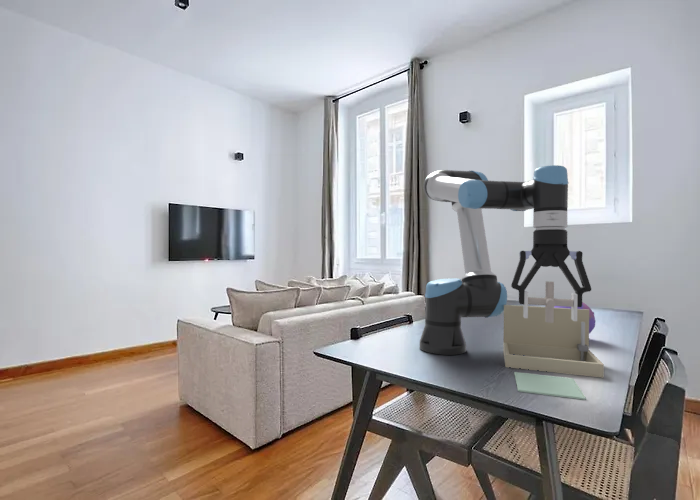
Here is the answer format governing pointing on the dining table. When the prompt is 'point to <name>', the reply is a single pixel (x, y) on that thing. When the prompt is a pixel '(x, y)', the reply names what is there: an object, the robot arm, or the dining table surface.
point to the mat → (548, 385)
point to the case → (549, 341)
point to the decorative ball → (591, 315)
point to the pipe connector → (550, 302)
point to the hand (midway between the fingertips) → (549, 318)
